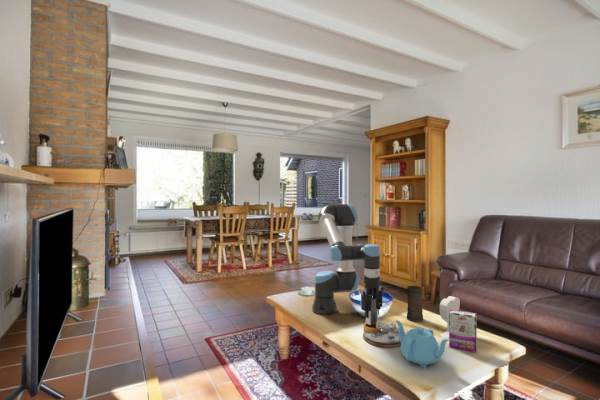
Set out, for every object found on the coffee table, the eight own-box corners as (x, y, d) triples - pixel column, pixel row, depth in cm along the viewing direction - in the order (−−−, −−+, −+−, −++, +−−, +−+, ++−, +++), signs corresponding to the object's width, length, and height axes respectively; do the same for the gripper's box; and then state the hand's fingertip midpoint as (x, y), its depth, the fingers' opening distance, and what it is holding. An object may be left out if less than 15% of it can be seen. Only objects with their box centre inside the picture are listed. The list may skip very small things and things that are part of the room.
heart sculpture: (451, 327, 173) (451, 293, 173) (461, 330, 170) (461, 296, 169) (437, 336, 163) (438, 300, 163) (448, 339, 159) (448, 302, 159)
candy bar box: (476, 348, 150) (476, 313, 150) (476, 353, 146) (476, 316, 145) (450, 343, 156) (450, 308, 155) (448, 347, 151) (448, 312, 151)
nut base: (354, 335, 165) (354, 333, 165) (383, 326, 175) (383, 325, 175) (383, 351, 147) (383, 349, 147) (413, 341, 157) (413, 339, 157)
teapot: (395, 349, 149) (395, 319, 149) (441, 353, 146) (441, 322, 145) (399, 368, 133) (399, 334, 133) (450, 373, 130) (450, 338, 129)
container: (424, 322, 180) (424, 290, 180) (407, 321, 182) (407, 289, 182) (422, 316, 189) (422, 285, 189) (405, 315, 191) (405, 284, 190)
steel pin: (366, 330, 162) (366, 298, 161) (369, 327, 165) (369, 296, 164) (374, 332, 160) (374, 300, 159) (377, 329, 163) (377, 297, 162)
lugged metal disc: (404, 330, 167) (404, 321, 167) (403, 347, 149) (403, 337, 149) (366, 325, 173) (366, 317, 173) (361, 341, 155) (361, 331, 155)
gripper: (363, 280, 153) (363, 329, 154) (390, 275, 162) (390, 321, 163) (353, 277, 160) (353, 323, 161) (379, 271, 168) (379, 316, 170)
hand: (372, 322), depth 162 cm, fingers open, 4 cm apart
